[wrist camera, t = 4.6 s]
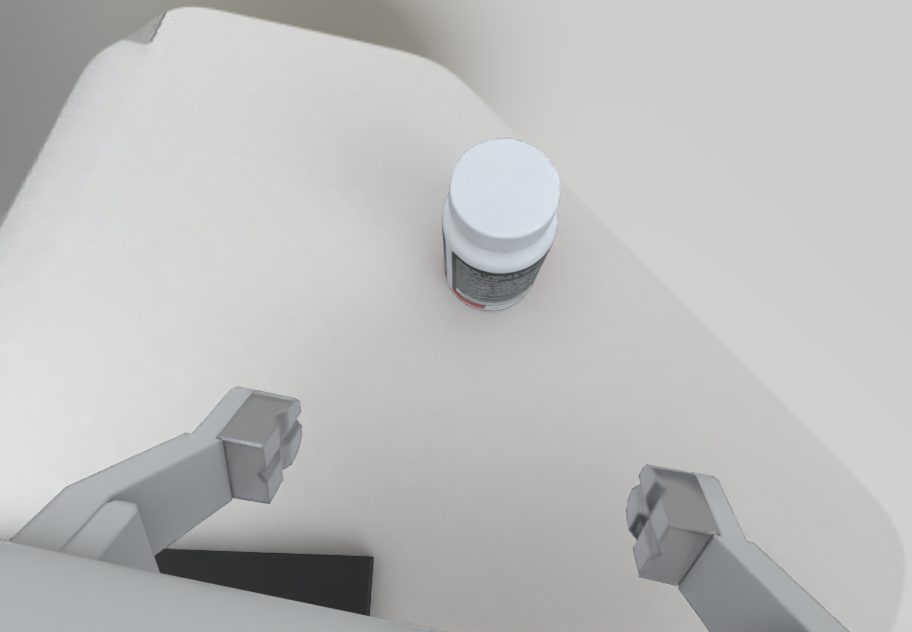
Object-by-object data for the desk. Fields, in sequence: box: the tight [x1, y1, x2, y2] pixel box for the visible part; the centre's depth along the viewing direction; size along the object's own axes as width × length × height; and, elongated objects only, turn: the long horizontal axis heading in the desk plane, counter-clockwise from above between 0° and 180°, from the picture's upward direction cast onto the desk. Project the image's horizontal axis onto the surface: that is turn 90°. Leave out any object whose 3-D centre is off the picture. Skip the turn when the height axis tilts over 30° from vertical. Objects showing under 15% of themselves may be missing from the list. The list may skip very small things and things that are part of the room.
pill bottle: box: [442, 138, 561, 310], centre depth 20 cm, size 5×5×8 cm
